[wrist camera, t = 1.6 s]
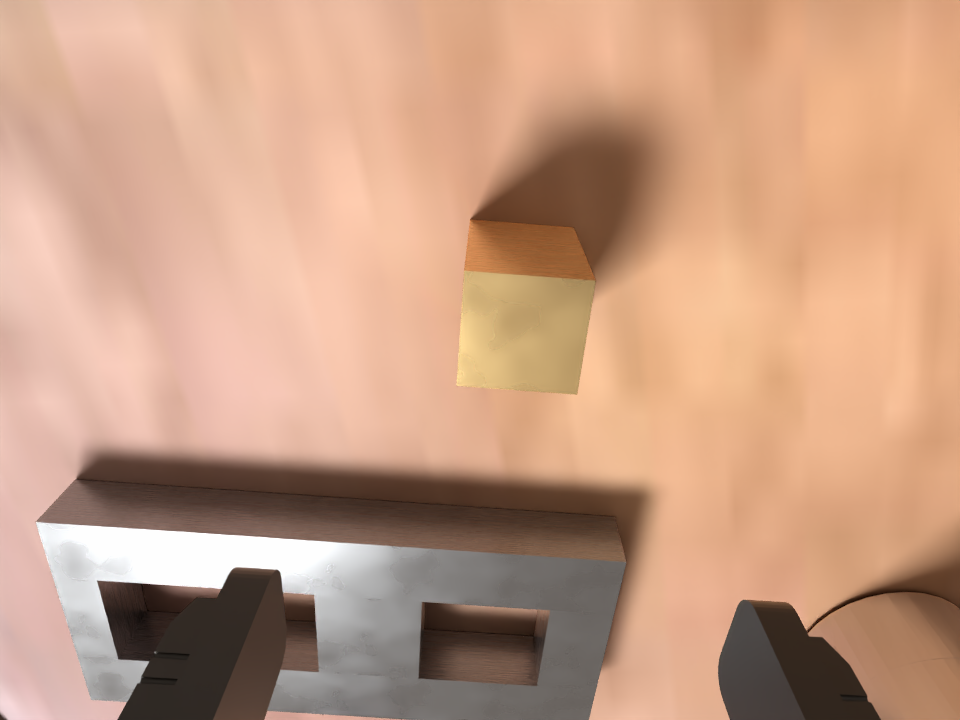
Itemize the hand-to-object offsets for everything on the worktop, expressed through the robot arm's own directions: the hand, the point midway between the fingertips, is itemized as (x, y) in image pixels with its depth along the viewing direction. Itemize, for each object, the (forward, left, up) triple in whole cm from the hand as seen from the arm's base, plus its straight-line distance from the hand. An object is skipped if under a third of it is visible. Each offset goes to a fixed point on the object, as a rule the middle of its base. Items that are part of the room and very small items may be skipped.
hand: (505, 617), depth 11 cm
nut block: (-1, -1, -16) cm, 16 cm away
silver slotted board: (+6, +17, -16) cm, 25 cm away
